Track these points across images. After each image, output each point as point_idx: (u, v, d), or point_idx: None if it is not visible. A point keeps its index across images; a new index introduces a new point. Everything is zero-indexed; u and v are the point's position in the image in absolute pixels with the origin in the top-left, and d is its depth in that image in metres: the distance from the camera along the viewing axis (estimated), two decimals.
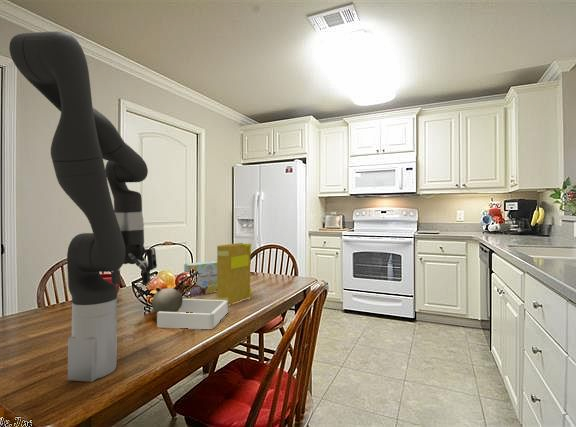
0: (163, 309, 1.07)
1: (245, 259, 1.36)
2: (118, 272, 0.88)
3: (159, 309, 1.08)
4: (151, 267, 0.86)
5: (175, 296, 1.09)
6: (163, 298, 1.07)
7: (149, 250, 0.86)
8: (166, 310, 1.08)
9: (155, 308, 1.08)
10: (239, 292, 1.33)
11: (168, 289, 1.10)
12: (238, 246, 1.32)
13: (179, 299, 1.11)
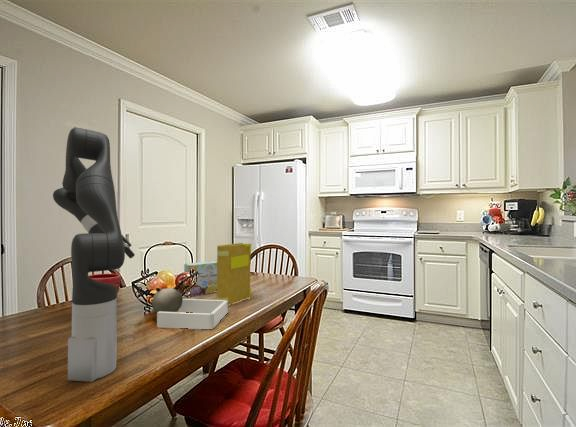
0: (163, 309, 1.07)
1: (245, 259, 1.36)
2: None
3: (159, 309, 1.08)
4: None
5: (175, 296, 1.09)
6: (163, 298, 1.07)
7: (121, 235, 1.21)
8: (166, 310, 1.08)
9: (155, 308, 1.08)
10: (239, 292, 1.33)
11: (168, 289, 1.10)
12: (238, 246, 1.32)
13: (179, 299, 1.11)
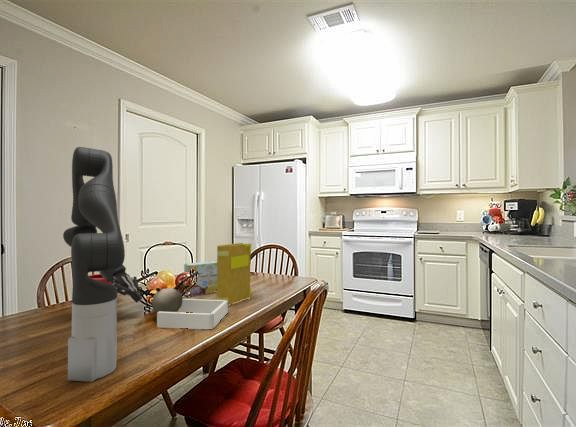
0: (163, 309, 1.07)
1: (245, 259, 1.36)
2: None
3: (159, 309, 1.08)
4: (137, 285, 1.16)
5: (175, 296, 1.09)
6: (163, 298, 1.07)
7: (135, 277, 1.19)
8: (166, 310, 1.08)
9: (155, 308, 1.08)
10: (239, 292, 1.33)
11: (168, 289, 1.10)
12: (238, 246, 1.32)
13: (179, 299, 1.11)
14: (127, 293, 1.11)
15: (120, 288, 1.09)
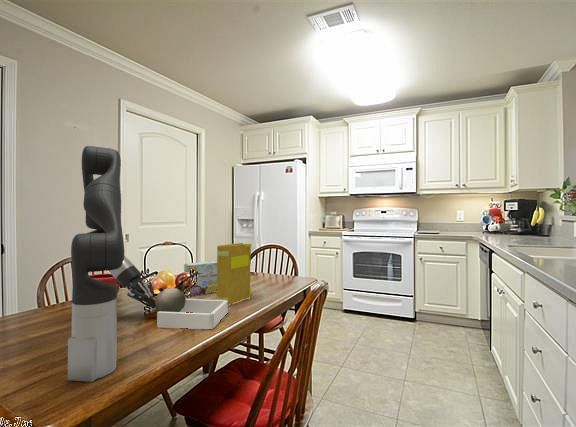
0: (166, 309, 1.07)
1: (245, 259, 1.36)
2: None
3: (162, 309, 1.08)
4: (153, 291, 1.15)
5: (178, 296, 1.09)
6: (166, 298, 1.07)
7: (150, 283, 1.19)
8: (169, 310, 1.07)
9: (158, 308, 1.08)
10: (239, 292, 1.33)
11: (171, 289, 1.10)
12: (238, 246, 1.32)
13: (182, 299, 1.11)
14: (143, 299, 1.10)
15: (137, 294, 1.08)
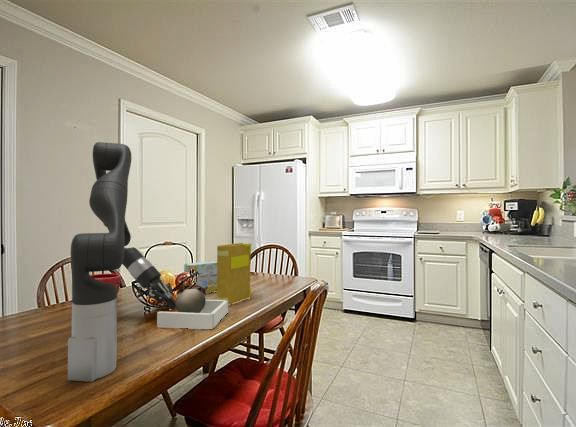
0: (187, 310, 1.07)
1: (245, 259, 1.36)
2: None
3: (183, 310, 1.07)
4: (172, 292, 1.15)
5: (198, 297, 1.08)
6: (186, 299, 1.06)
7: (169, 283, 1.18)
8: (190, 311, 1.07)
9: (179, 309, 1.07)
10: (239, 292, 1.33)
11: (191, 290, 1.09)
12: (238, 246, 1.32)
13: (202, 299, 1.10)
14: (164, 300, 1.09)
15: (157, 295, 1.07)
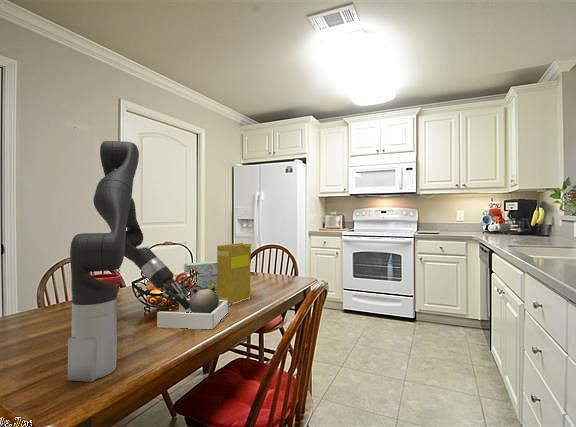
0: (201, 310, 1.06)
1: (245, 259, 1.36)
2: None
3: (197, 310, 1.06)
4: (185, 292, 1.14)
5: (212, 297, 1.08)
6: (201, 300, 1.06)
7: None
8: (204, 311, 1.06)
9: (193, 309, 1.07)
10: (239, 292, 1.33)
11: (205, 290, 1.09)
12: (238, 246, 1.32)
13: (216, 300, 1.10)
14: (177, 300, 1.09)
15: (171, 295, 1.07)
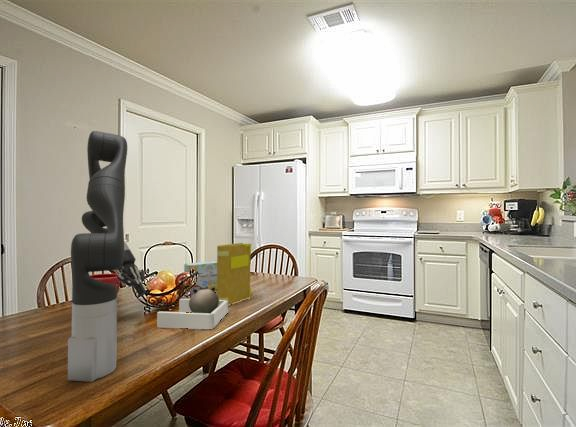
0: (201, 310, 1.06)
1: (245, 259, 1.36)
2: None
3: (197, 310, 1.06)
4: (143, 279, 1.15)
5: (212, 297, 1.08)
6: (201, 300, 1.06)
7: (143, 270, 1.18)
8: (204, 311, 1.06)
9: (193, 309, 1.07)
10: (239, 292, 1.33)
11: (205, 290, 1.09)
12: (238, 246, 1.32)
13: (216, 300, 1.10)
14: (132, 285, 1.09)
15: (126, 278, 1.07)
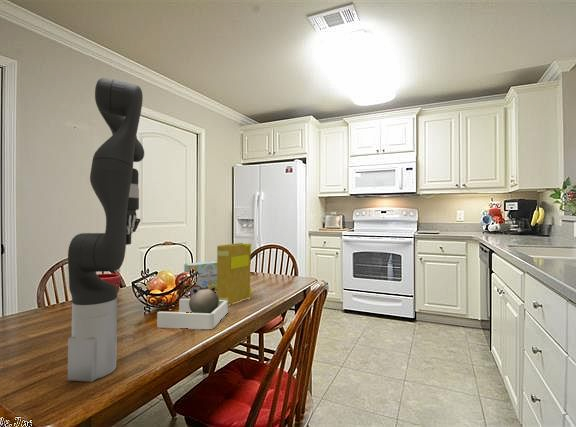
0: (201, 310, 1.06)
1: (245, 259, 1.36)
2: None
3: (197, 310, 1.06)
4: (135, 229, 1.14)
5: (212, 297, 1.08)
6: (201, 300, 1.06)
7: (139, 220, 1.17)
8: (204, 311, 1.06)
9: (193, 309, 1.07)
10: (239, 292, 1.33)
11: (205, 290, 1.09)
12: (238, 246, 1.32)
13: (216, 300, 1.10)
14: None
15: None
